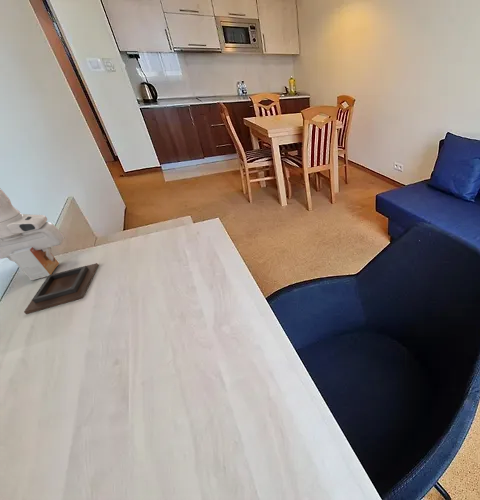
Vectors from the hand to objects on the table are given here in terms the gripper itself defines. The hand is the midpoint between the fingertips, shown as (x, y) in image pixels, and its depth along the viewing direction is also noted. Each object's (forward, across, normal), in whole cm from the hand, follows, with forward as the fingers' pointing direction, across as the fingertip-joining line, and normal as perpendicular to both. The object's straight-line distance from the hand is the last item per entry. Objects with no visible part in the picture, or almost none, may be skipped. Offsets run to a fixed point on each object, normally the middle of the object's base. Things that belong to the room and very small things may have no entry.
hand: (38, 262), depth 101 cm
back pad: (+4, +10, -14) cm, 18 cm away
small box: (+4, 0, 0) cm, 4 cm away
